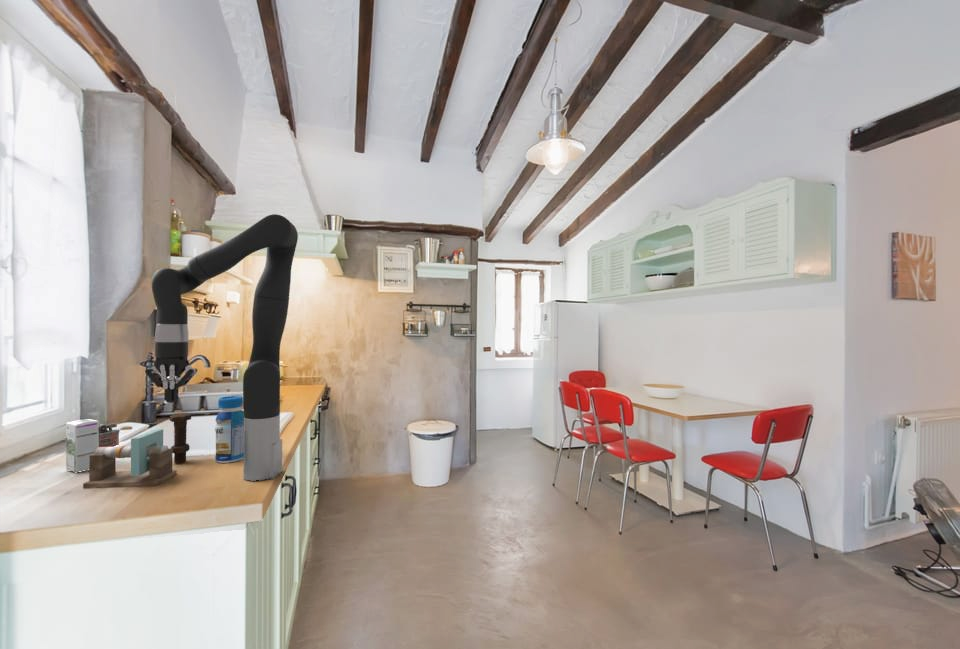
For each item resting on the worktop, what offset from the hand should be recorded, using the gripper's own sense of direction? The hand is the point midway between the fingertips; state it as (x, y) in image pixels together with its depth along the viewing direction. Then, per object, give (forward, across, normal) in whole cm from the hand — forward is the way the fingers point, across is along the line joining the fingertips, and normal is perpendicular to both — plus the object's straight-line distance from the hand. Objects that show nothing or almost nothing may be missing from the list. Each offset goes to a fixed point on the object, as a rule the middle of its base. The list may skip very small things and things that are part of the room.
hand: (171, 402), depth 118 cm
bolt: (+22, +6, -15) cm, 27 cm away
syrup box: (+22, +31, -11) cm, 40 cm away
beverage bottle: (+22, -8, -17) cm, 29 cm away
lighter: (+22, +36, -26) cm, 50 cm away
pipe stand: (+22, +10, 0) cm, 24 cm away
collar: (+19, +6, 0) cm, 20 cm away
